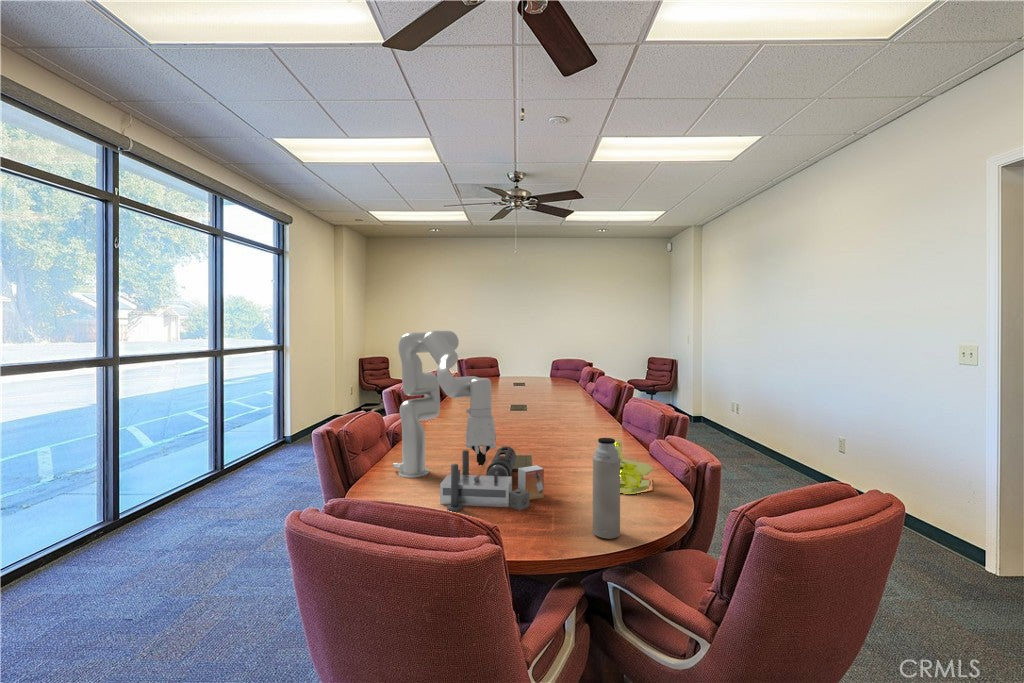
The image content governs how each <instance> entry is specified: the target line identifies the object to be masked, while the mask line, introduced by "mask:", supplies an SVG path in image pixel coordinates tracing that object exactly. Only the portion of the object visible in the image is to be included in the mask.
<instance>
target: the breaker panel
mask: <svg viewBox="0 0 1024 683" xmlns="http://www.w3.org/2000/svg"><path fill="white" fill-rule="evenodd" d="M475 476H476V474H475V475H474V474H469V475H463V474H461V469H458V504H461V505H462V506H471V507H472V506H475V507H495V508H496V507H498V508H510V507H509V492H511V491H513V476H511V477H510V476H498V471H496V472H495V474H494V476H486V475H482V474H481V475H480V478H479V479H478V481H477V482H475V481H474V477H475ZM439 501H440V502H439V505H445V506H446V505H447V506H448V505H449V504H451V473H450V474H447V475H446V476H445V477H444V479H442V481H441V482H440V484H439Z"/></svg>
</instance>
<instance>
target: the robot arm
mask: <svg viewBox="0 0 1024 683" xmlns="http://www.w3.org/2000/svg"><path fill="white" fill-rule="evenodd" d="M459 344H460V343H459V337H458V335H457V334H456V333H455V332H454V331H451V330H431V331H429V332H423V331H422V332H420V331H419V332H417V331H416V332H409V333H408V332H407V333H405V334H403V335H402V336H401V337H400V339H399V341H398V354H399V358H400V361H401V362H400V363H401V379H402V381H401V382H402V392H403V394H404V395H406V396H408V397H409V396H410V397H415V396H416V397H417V396H424V397H420V398H419V397H418V398H412V399H407V400H404V401H403V402H402V403H401V404H400V406H399V417H400V420H401V421H400V423H401V441H402V442H401V444H402V445H401V447H402V448H401V451H402V453H401V456H402V457H401V459H402V461H401V462H400V463H399V462H395V463H394V462H393V463H392V464H393V465H392V467H393V469H394V470H398V472H397V473H398V477H401V478H405V479H416V477H417V478H422V477H425V476H427V475H429V472H430V470H429V468H427V467H426V430H425V428H424V426H423V425H422V423H421V422H422V421H427V420H434V419H435V418H437V417H438V416H439V414H440V411H441V397H440V391H441V390H440V388H441V389H442V391H443V393H444V394H445V395H446V396H447V397H449V398H451V399H461V398H469V399H470V400H469V405H470V408H469V409H466V411H465V412H466V414H469V416H468V417H467V421H466V428H465V430H466V431H465V432H466V433H465V443H466V444H465V448H468V449H470V450H473V452H474V453H475V454H476V462H477V466H481V467H482V466H483V464H484V463H485V461H486V459H487V456H486V454H487V452H488V451H489V450H492V449H495V448H496V447H497V443H496V436H497V435H496V426H495V419H494V416H493V415H492V381H491V379H490V378H487V377H478V376H473V375H471V376H468V375H467V376H455V377H454V376H453V374H452V373H451V372H450V369H452V368H453V367H454V366H455V365H456V364H457V362H458V360H459V355H458V353H457V351H456V350H457V348H458V347H459ZM417 353H419V354H420V353H429V354H430V356H431V358H432V359H433V360H434V361H435V363H436V365H437V367H436V368H437V369H436V374H435V373H433V372H427V371H426V372H423V362H422V359H421V357H419V354H417ZM481 447H482V450H481ZM421 476H422V477H421Z"/></svg>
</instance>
